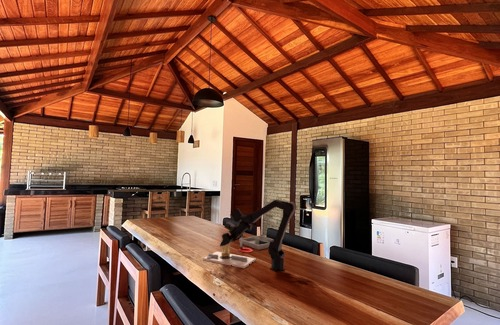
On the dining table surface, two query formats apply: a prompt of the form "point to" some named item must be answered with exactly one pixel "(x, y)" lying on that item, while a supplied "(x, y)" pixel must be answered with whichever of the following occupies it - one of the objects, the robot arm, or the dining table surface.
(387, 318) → the dining table surface
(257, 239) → the metal bracket
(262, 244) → the parts tray
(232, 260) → the plate
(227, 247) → the tan gold domed cylinder
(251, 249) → the tow hook
